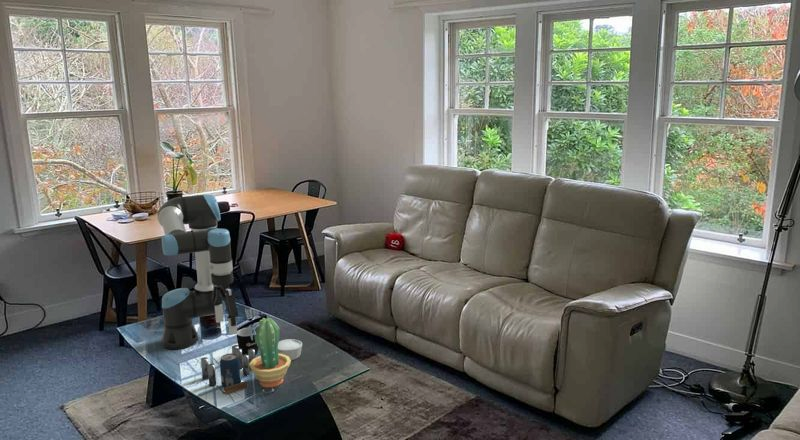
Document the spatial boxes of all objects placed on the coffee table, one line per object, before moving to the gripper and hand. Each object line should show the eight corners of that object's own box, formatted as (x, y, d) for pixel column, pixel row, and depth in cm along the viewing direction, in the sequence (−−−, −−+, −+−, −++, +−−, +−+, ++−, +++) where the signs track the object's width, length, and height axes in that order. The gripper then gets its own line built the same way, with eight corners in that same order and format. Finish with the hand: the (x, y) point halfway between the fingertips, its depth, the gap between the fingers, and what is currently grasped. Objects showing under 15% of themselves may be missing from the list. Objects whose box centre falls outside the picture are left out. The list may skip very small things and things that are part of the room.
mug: (245, 361, 249) (243, 337, 247) (234, 354, 256) (232, 331, 253) (270, 352, 257) (269, 329, 255) (259, 345, 264) (258, 323, 261)
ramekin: (308, 354, 255) (307, 342, 253) (289, 364, 246) (288, 352, 244) (288, 348, 261) (288, 336, 260) (269, 358, 252) (268, 346, 251)
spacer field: (198, 374, 239) (196, 355, 237) (247, 360, 250) (246, 342, 248) (210, 387, 228) (208, 367, 226) (260, 372, 240) (259, 353, 238)
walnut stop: (224, 393, 223) (223, 387, 223) (246, 386, 228) (245, 381, 227) (225, 395, 222) (225, 389, 222) (247, 388, 227) (247, 382, 226)
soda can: (236, 379, 233) (233, 350, 231) (244, 386, 228) (241, 357, 225) (218, 385, 229) (216, 356, 226) (226, 392, 224) (223, 362, 221)
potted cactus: (265, 369, 242) (261, 309, 236) (299, 375, 236) (296, 314, 231) (242, 387, 228) (237, 324, 222) (277, 394, 222) (273, 330, 217)
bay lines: (216, 386, 229) (216, 385, 229) (239, 379, 234) (239, 378, 234) (223, 394, 223) (223, 393, 223) (247, 386, 228) (247, 386, 228)
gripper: (200, 265, 226) (205, 319, 231) (224, 283, 207) (228, 341, 212) (219, 262, 231) (224, 314, 236) (245, 279, 211) (249, 336, 216)
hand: (226, 327), depth 224 cm, fingers open, 13 cm apart
